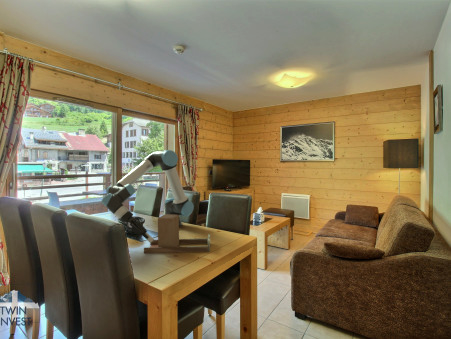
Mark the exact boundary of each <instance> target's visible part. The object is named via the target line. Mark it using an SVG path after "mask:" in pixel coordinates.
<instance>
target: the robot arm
mask: <svg viewBox="0 0 451 339" xmlns="http://www.w3.org/2000/svg"><path fill="white" fill-rule="evenodd" d="M178 161H179V157H178V154H177V153H176V152H175V151H174V150H171V149H161V150H154V151H153V152H151V153H150V154H148V155H147V156H145V157H144V158H143V160H142V162H140V163H139V165H137V166H136V167H134V168H133V169H132V170H131V171H129V172H128V173H127V174H126V175H125V176H123V177H122V178H121V179H120V180H119V181H117V182H116V183H114V185H109V186H108V187H107V188H106V191H105V193H106V195H105V196H104V197H103V198H102V199H101V203H102V205H103V206H104V207H105V208H106V209H107V210H109V211H110V212H111V214H113V215H114V216H115V217H116V218H117V219H119V221H120V222H121V223H123V224H127V225H128V226H127V228H128V229H130V230H132V231H133V232H134V234H135V233H136V234H137V235H138V236H140V237H143V238H144V239H145V240H146V241H147V242H148V243H151V242H152V241H153V240H155V238H153V236H152V235H150V234H149V233H148V230H147V229H146V228H145V227H144V225H143V224H142V223H141V222H140V221H139V219H138V218H135V217H133V216H134V213H133V212H132V211H131V210H129V208H127V207H126V206H125V205H124V204H123V203H125V202H126V201H127V200H128V199H129V198H130V197H132V196H133V195H134V194H135V193H136V189H135V188H134V185H133V184H134V183H136V182H137V181H138V180H140V179H141V178H142V177H143V176H144V175H145V174H147V172H150V170H153V169H154V168H156V167H160V168H161V170H162V171H163V172H165V176H166V179H167V182H168V184H169V187H170V190H171V193H172V196H173V197H169V198H166V199H165V200H164V215H165V214H170V215H178V216H179V228H181V226H182V225H183V223H182V220H181V216H182V217H188V216H190V215H191V214H192V213H193V211H194V207H195V206H194V203H193V202H192V201H191V200H190V199H189V196H188V195H186V193H185V190H184V188H183V184H182V183H181V179H180V176H179V173H178V171H177V167H178Z"/></svg>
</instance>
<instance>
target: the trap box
mask: <svg viewBox="0 0 451 339" xmlns="http://www.w3.org/2000/svg"><path fill="white" fill-rule="evenodd" d="M149 243H150V242H149ZM202 244H203V245H202ZM149 245H150V246H149V247H144V248H143V254H166V253H167V254H170V253H171V254H172V253H173V254H174V253H209V252H210V251H211V233H208V234H207V237H204V238H203V237H201V238H200V237H199V238H198V237H197V238H179V245H187V246H178V247H158V239H154V240H153V241H152V242H151V243H150V244H149Z"/></svg>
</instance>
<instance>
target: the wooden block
mask: <svg viewBox="0 0 451 339" xmlns="http://www.w3.org/2000/svg"><path fill="white" fill-rule="evenodd" d="M179 216H180V215H179ZM179 216H178V215H170V214H165V213H164V214H162V215H161V216H159V217H157V240H158V247H180V244H179V239H180V227H179Z"/></svg>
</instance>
